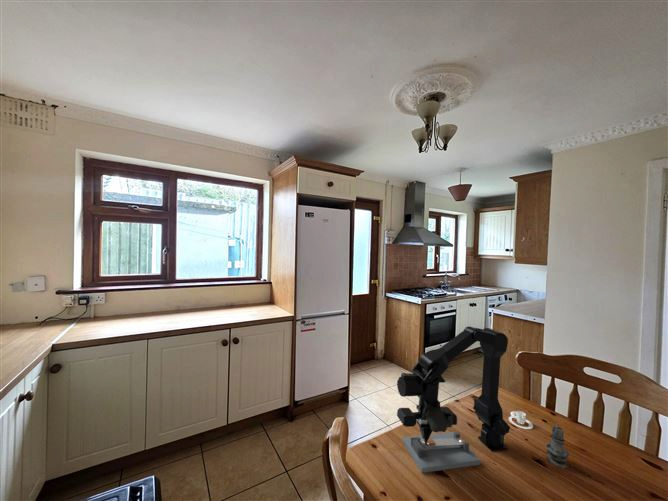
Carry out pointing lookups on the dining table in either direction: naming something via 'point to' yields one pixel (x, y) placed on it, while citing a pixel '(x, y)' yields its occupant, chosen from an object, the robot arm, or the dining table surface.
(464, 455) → the base plate
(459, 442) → the light grey long bar
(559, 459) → the grey tiered tower figurine
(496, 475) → the dining table surface
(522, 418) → the teacup and saucer
